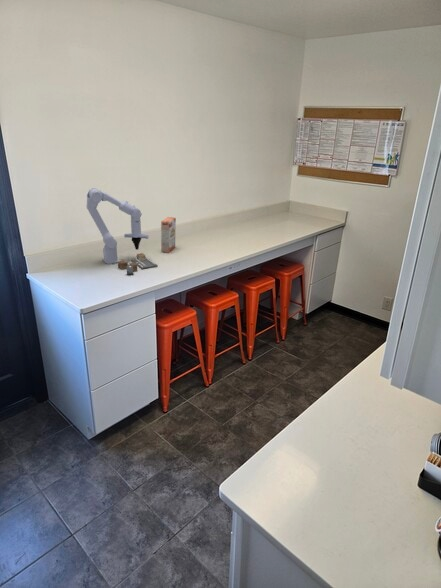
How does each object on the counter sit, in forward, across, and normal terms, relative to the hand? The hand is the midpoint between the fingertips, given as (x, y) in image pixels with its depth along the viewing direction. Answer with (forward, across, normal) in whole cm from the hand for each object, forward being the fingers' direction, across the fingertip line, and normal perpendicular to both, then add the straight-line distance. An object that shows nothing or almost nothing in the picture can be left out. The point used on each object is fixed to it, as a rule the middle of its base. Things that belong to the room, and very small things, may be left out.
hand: (137, 249), depth 247 cm
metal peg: (+6, +3, -27) cm, 28 cm away
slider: (+5, +4, -5) cm, 8 cm away
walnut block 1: (+6, -4, -18) cm, 20 cm away
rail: (+6, +6, -9) cm, 13 cm away
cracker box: (+7, +16, +22) cm, 28 cm away
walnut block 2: (+6, +3, -20) cm, 22 cm away
